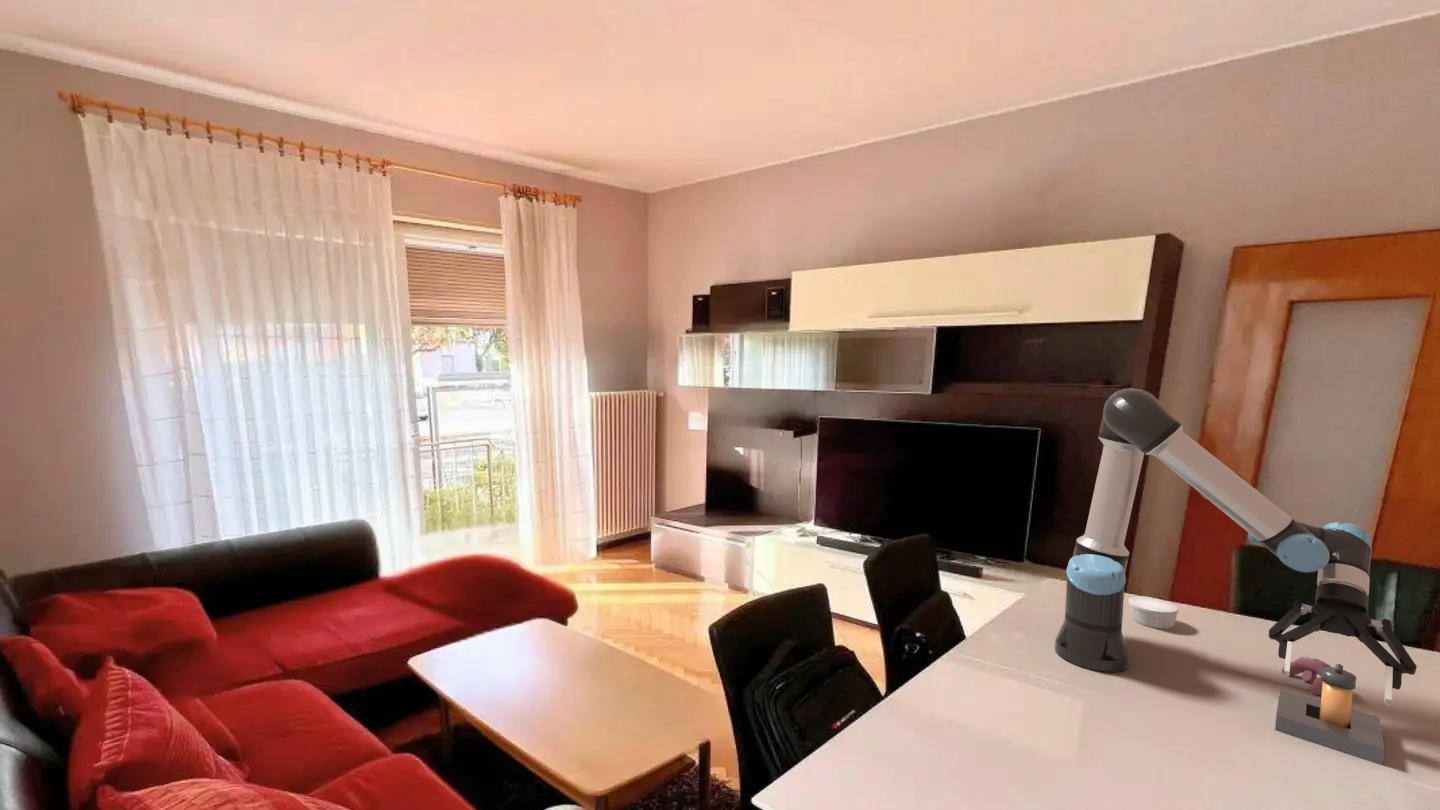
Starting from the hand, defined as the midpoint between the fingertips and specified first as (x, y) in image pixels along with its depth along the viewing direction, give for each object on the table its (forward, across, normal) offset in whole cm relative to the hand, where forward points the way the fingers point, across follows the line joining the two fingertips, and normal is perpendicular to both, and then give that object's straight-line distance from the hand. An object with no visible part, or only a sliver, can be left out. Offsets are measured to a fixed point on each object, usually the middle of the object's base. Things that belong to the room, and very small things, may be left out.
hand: (1335, 687), depth 115 cm
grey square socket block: (+7, +1, -6) cm, 9 cm away
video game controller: (-9, +3, -22) cm, 23 cm away
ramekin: (-18, +35, -31) cm, 50 cm away
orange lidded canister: (+7, 0, -6) cm, 9 cm away
